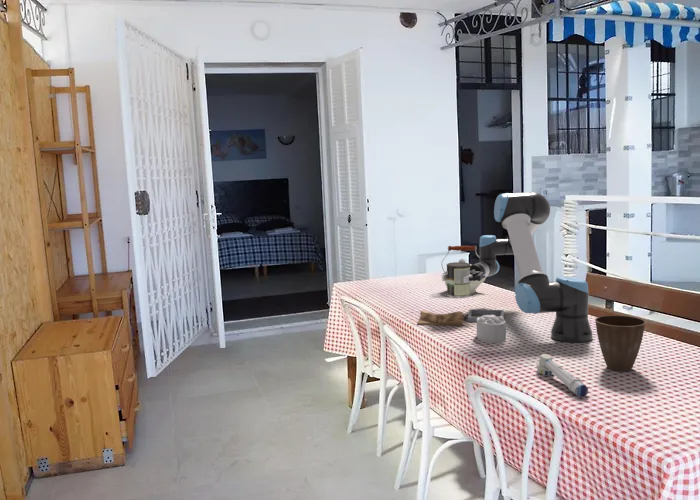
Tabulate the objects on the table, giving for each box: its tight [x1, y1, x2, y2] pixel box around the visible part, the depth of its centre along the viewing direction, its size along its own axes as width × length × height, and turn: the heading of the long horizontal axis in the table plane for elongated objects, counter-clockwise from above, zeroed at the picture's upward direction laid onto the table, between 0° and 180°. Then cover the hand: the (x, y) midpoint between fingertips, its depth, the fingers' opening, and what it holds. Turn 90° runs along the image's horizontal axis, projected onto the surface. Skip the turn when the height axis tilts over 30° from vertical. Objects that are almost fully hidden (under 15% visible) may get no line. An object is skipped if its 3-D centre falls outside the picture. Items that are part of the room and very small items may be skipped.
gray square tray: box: [467, 308, 505, 323], centre depth 278 cm, size 15×15×2 cm
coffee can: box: [446, 261, 471, 299], centre depth 277 cm, size 10×10×14 cm
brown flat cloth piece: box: [416, 310, 465, 327], centre depth 275 cm, size 16×19×4 cm
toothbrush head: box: [536, 353, 589, 398], centre depth 194 cm, size 5×7×25 cm
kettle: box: [441, 245, 487, 295], centre depth 334 cm, size 25×18×25 cm
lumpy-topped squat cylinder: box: [476, 314, 507, 344], centre depth 245 cm, size 10×13×9 cm
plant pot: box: [594, 315, 646, 372], centre depth 205 cm, size 15×15×16 cm
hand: (453, 279), depth 274 cm, fingers closed on coffee can, 10 cm apart
